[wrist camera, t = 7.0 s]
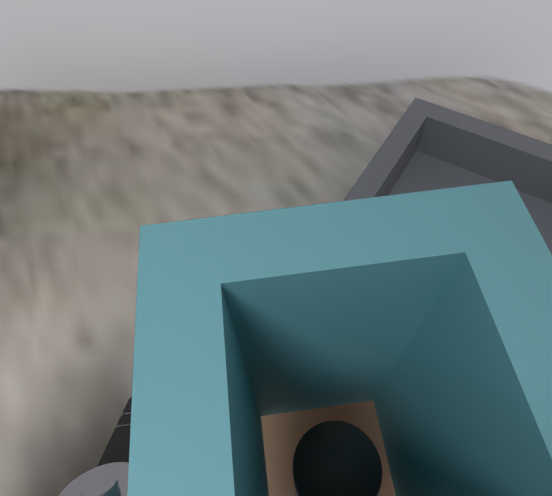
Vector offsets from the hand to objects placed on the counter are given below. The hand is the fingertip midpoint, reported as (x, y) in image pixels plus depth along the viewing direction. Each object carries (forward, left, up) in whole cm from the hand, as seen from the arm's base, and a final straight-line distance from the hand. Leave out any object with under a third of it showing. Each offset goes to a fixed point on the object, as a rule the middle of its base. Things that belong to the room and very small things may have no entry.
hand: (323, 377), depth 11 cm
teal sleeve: (+1, -1, -4) cm, 4 cm away
